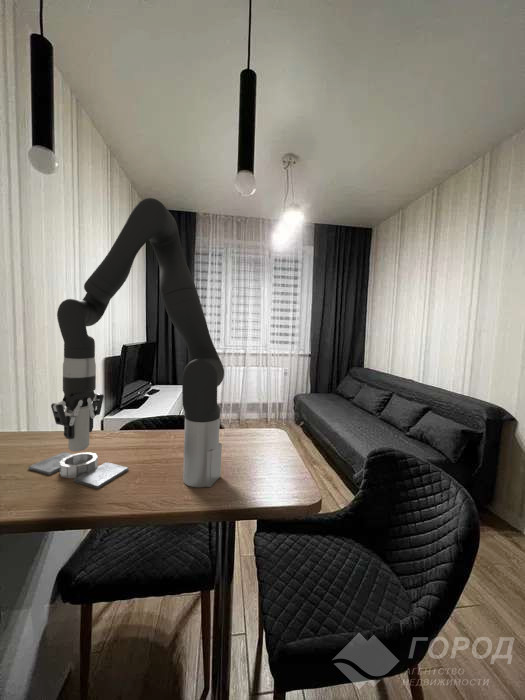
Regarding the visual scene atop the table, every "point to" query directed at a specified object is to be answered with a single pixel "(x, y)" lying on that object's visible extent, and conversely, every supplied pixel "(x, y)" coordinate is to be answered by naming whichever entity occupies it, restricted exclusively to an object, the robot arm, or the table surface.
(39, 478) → the table surface
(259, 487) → the table surface
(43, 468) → the hinge model
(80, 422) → the beverage can
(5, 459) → the table surface
